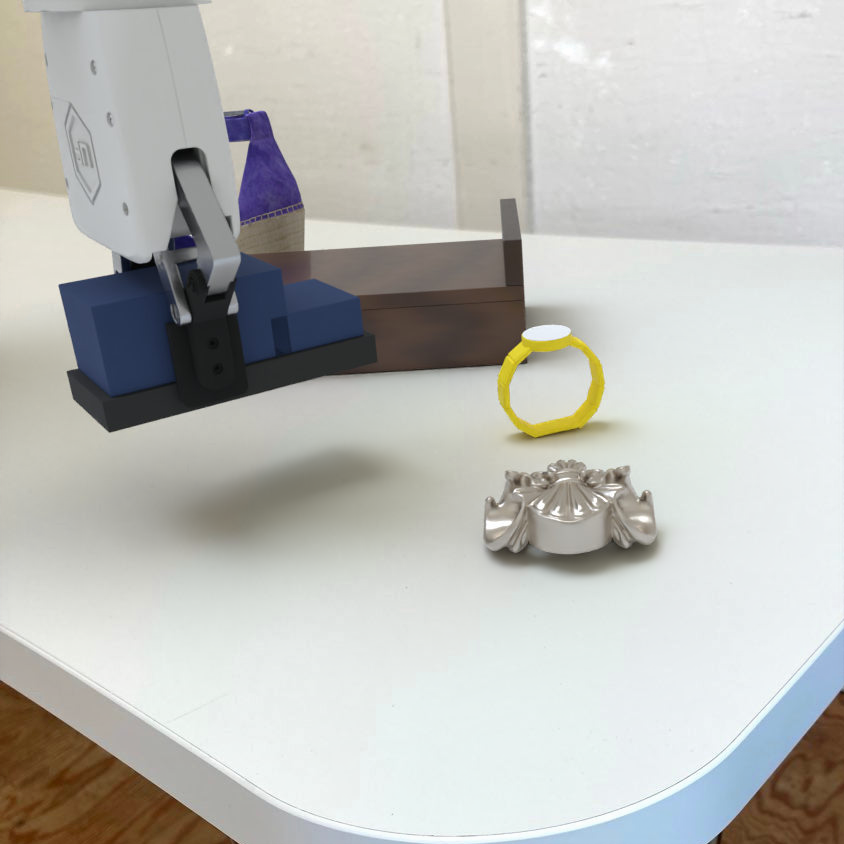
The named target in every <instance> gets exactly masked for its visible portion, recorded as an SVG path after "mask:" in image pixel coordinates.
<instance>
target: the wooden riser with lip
mask: <svg viewBox="0 0 844 844" xmlns="http://www.w3.org/2000/svg"><path fill="white" fill-rule="evenodd" d="M499 206H500V224H501V226H500V227H501V238H491V239H476V240H461V241H443V242H425V243H410V244H393V245H377V246H376V245H375V246H361V247H343V248H327V249H312V250H304V251H293V252H277V253H260V254H247V255H250V256H252V257H254V258H257V259H259V260H261V261H264V262H266V263H268V264H271V265H273V266H275V267H278V268H280V269H281V272H282V279H283V285H286V284H291V283H295V282H300V281H305V280H310V279H317V280H319V281H321V282H324V283H326V284H329V285H331V286H333V287H336V288H338V289H340V290H343V291H345V292H348V293H350V294H352V295H355V296H357V297H359V298H360V304H361V314H362V323H363V330H366V331H368V332H370V333H372V334H374V335H375V341H376V351H377V361H378V362H376V363H372V364H368V365H365V366H361V367H357V368H353V369H349V370H346V371H342V372H338V373H334V374H331V375H332V376H333V375H347V374H348V375H350V374H364V373H366V374H367V373H380V372H381V373H382V372H397V371H399V372H400V371H413V370H415V371H417V370H430V369H446V368H449V369H450V368H463V367H481V366H497V365H498V366H499V365H503V363H504V360H505V358H506V356H508V353H509V352H510V351H512V350H513V349H514V348H515V347H516V346H517V345H518V344H519V343H520V342H522V337H521V336H522V334H523V332H524V331H526V330H527V317H526V316H527V315H526V295H525V276H524V256H523V255H524V253H523V238H522V233H521V226H520V225H521V224H520V220H519V212H518V205H517V199H516V198H515V197H512V198H500V199H499ZM528 356H529V355H528ZM528 356H527V357H526V358H525V359H524V360H523V361H522V362H521V363H520V364H527V363H528V362H529V358H528ZM331 375H330V376H331Z"/></svg>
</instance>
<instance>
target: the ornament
mask: <svg viewBox="0 0 844 844" xmlns="http://www.w3.org/2000/svg"><path fill="white" fill-rule="evenodd" d="M631 470H632V469H631V465H628V464H627V465H622V466H618V467H616V468H608V469H606V470H603V469H601V468H595V469H594V468H593V469H591V468H590V469H587V465H586V463H584V462H582V461H579V462H578V461H577V460H575V459H574V458H571V459H567V461H566V460H565V459H559V460H557V461H556V462H555V463H554V462H551V463H550V464H549V465H547V468H546V471H543V470H542V471H534V472H533V471H532V472H531V473H530V474H529V473H528V472H526V471H525V472H524V471H521V472H519V471H515V470H505V471H504V478H505V484H504V488H503V491H502V494H501V495H500V499H499V501H498V502H497V501H496V499H495V498H494V497H493V496H487V497H486V498H485V500H484V516H483V532H482V533H483V537H482V538H483V542H484V545H485V546H486V547H487V548H488V550H490V551H492V552H498V551H500V550H501V549H503V548H507V549H508V551H510V552H512V553H514V554H516V553H520V552H521V551H523V550H524V548H526V546H527V545H528V544H529V545H530V546H532V547H533V548H534V549H536V550H539V551H541V552H546V553H551V554H557V555H558V554H559V555H577V554H585V553H590V552H594V551H597V550H600V549H602V548H605V546H608V545H609V544H610V543H611V542H614V543H615V544H616V545H618V546H619V547H620V548H622V549H624V550H625V549H629V548H631V547H632V545H633V544H634V543H639V544H641V545H643V546H650V545H651V544H653V542H654V541H655V540H656V538H657V536H658V535H657V534H658V527H657V522H656V521H657V520H656V514H655V508H654V499H653V494H652V493H653V492H652V491H650V490H649V489H647V490H646V489H645V490H643V491H642V493H641V495H640V496H638V494H637V492H636V490H635V488H634V486H633V484H632V480H631V477H630V474H631V472H632V471H631Z"/></svg>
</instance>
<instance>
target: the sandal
mask: <svg viewBox="0 0 844 844" xmlns="http://www.w3.org/2000/svg"><path fill="white" fill-rule="evenodd" d="M223 114H224V118H225V124H226V129H227V134H228V139H229V143H242V142H248V146H247V153H246V157H245V158H246V159H245V163H244V167H243V173H242V177H241V182H240V188H239V193H238V204H239V215H240V233H239V235H238V237H237V239H236V243H237V245H238V247H239V250H240V252H243V253H245V254H260V253H277V252H293V251H305V239H306V238H305V237H306V236H305V235H306V234H305V232H306V231H305V228H306V227H305V226H306V223H305V222H306V220H305V219H306V209H305V205H304V202H303V199H302V194H301V192H300V188H299V185H298V182H297V180H296V178H295V175H294V174H293V172H292V171H291V168H290V166H289V165H288V163H287V160H286V159H285V157H284V154H283V153H282V151H281V148H280V146H279V145H278V143H277V140H276V138H275V135H274V130H273V127H272V124H271V121H270V118H269V116H268V113H267V112H266V111H265V110H258V111H254V110H253V109H251V108H246V109H244V110H243V109H242V110H230V111H229V110H228V111H223ZM174 242H175V250H177V249H183V248H188V247H194V246H196V244H195V242H194V239H193V237H192V235H187V236H181V237H176V238H174Z"/></svg>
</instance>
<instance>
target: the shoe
mask: <svg viewBox="0 0 844 844" xmlns="http://www.w3.org/2000/svg"><path fill="white" fill-rule="evenodd" d="M240 254H241V263H240V266H239V268H238V271H237V274H236V276H235V278H237V282H236V283H235V294H236V297H237V301H238V307H239V308H238V313H237V318H238V324H239V330H240V336H241V343H242V349H243V355H244V361H245V367H246V374H247V380H248V390H247V392H246V393H244V394H242V395H239V396H235V397H231V398H228V399H224V400H220V401H216V402H212V403H209V404H205V405H201V406H197V407H193V408H190V407H187V406H186V405H184V404H183V403H182V402H181V401H180V398H179V393H178V388H177V383H176V378H175V373H174V367H173V362H172V357H171V352H170V347H169V342H168V337H167V331H166V326H165V323H169V322H173V318H172V315H171V312H170V309H169V305H168V302H167V299H166V295H165V292H164V289H163V285H162V282H161V279H160V275H159V272H158V269H157V266H154V267H148V268H143V269H138V270H132V271H127V272H122V273H116V274H114V273H112V274H107V275H101V276H96V277H90V278H85V279H84V278H83V279H80V280H75V281H69V282H63V283H58V284H57V285H58V291H59V294H60V295H59V296H60V298H61V303H62V307H63V311H64V316H65V320H66V323H67V327H68V332H69V337H70V341H71V346H72V348H73V352H74V357H75V361H76V366H77V368H75V369H69V370H66V375H67V380H68V382H69V388H70V391H71V392H70V393H71V396H72V399H73V401H74V402H75V403H76V404H77V405H79V406H80V407H81V408H82V409H83V410H84V411H85V412H86V413H87V414H88V415H89V416H91V418H93V419H94V421H96V422H97V423H98V424H99V425H100V426H101V427H102V428H103V429H104V430H105V431H106V432H107V433H109V434H110V433H113V432H114V433H115V432H118V431H122V430H126V429H130V428H133V427H137V426H141V425H144V424H148V423H153V422H157V421H161V420H164V419H168V418H172V417H175V416H179V415H183V414H186V413H191V412H193V411H198V410H201V409H207V408H210V407H212V406H213V407H214V406H217V405H220V404H224V403H228V402H232V401H235V400H241V399H243V398H247V397H250V396H254V395H255V396H256V395H258V394H262V393H266V392H270V391H273V390H277V389H280V388H285V387H288V386H293V385H297V384H301V383H304V382H308V381H312V380H315V379H319V378H322V377H326V376H331V374H333V375H335V374H334V373H338V372H342V371H346V370H349V369H353V368H357V367H361V366H365V365H368V364H372V363H376V362H378V361H377V351H376V341H375V335H374V334H372V333H370V332H368V331H366V330H363V323H362V314H361V304H360V298H359V297H357V296H355V295H352V294H350V293H348V292H345V291H343V290H340V289H338V288H336V287H333V286H331V285H329V284H326V283H324V282H321V281H319V280H317V279H310V280H305V281H300V282H295V283H291V284H286V285H283V279H282V272H281V269H280V268H278V267H275V266H273V265H271V264H268V263H266V262H264V261H261V260H259V259H257V258H254V257H252V256H250V255H247V254H245V253H243V252H240ZM177 267H178V270H179V273H180V277H181V280H182V284H183V287H184V289H185V285H186V280H187V277H188V273H189V271H190V270H194V269H197V267H198V265H197V263H192V264H187V265H182V266H177Z"/></svg>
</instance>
